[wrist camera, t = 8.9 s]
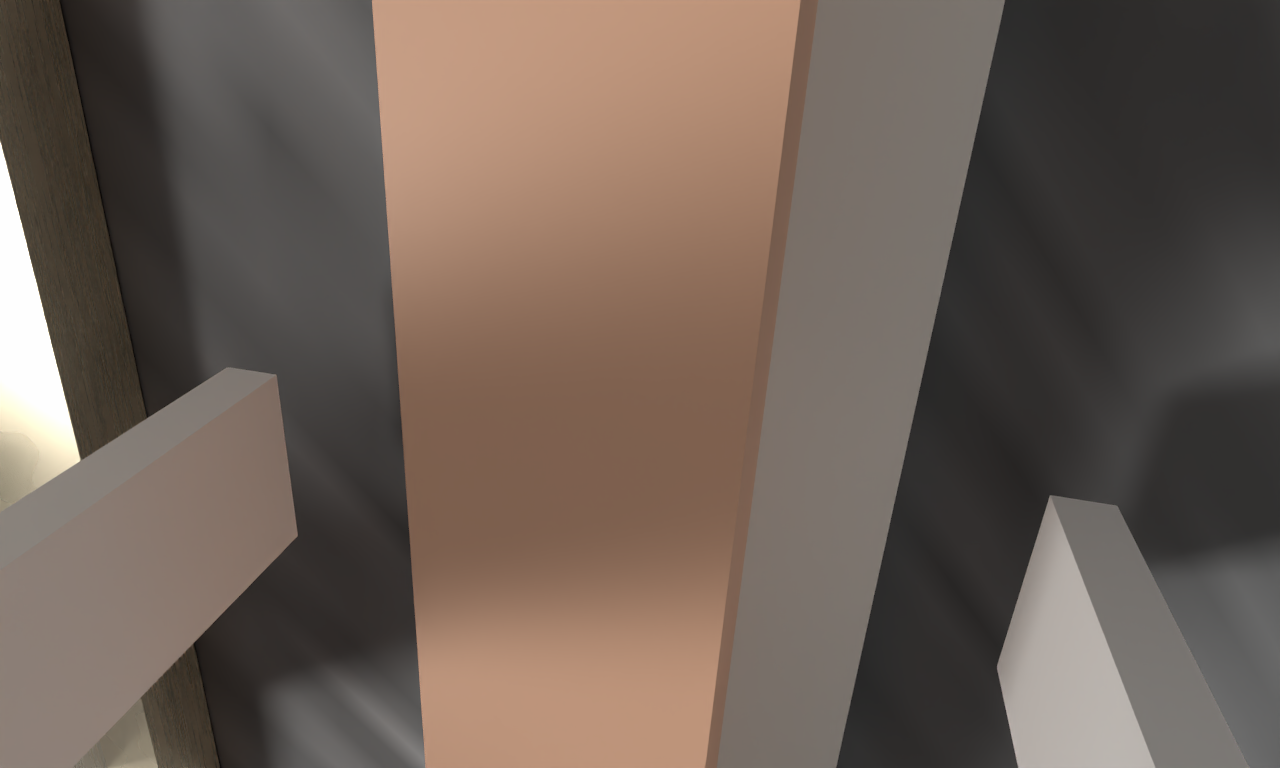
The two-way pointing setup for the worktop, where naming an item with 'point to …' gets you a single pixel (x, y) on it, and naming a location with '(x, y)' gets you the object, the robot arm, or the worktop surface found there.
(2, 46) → the hook stand
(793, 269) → the mat
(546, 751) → the rail
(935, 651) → the worktop surface
